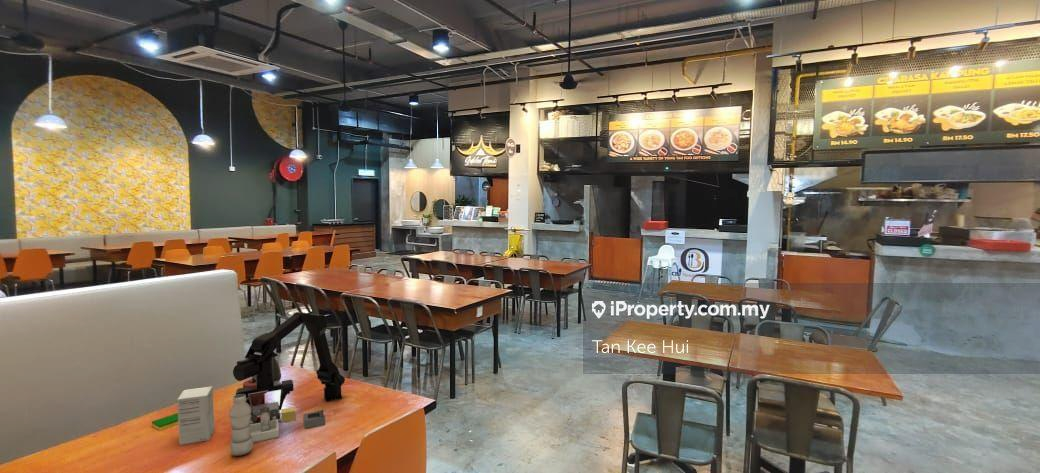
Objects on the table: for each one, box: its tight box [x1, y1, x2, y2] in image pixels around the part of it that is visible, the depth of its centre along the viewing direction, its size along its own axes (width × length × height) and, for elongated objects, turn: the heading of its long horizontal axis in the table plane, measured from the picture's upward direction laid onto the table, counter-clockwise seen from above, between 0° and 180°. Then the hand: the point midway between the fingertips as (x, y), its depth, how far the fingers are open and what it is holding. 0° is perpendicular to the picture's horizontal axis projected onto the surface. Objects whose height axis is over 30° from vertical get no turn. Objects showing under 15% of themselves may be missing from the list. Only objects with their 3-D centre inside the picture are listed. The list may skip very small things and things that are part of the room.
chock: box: [280, 406, 297, 424], centre depth 185 cm, size 5×4×4 cm
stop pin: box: [259, 407, 270, 432], centre depth 173 cm, size 3×3×9 cm
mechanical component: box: [242, 378, 268, 406], centre depth 195 cm, size 12×10×10 cm
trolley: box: [250, 401, 281, 424], centre depth 184 cm, size 12×10×10 cm
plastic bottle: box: [228, 394, 254, 457], centre depth 159 cm, size 6×7×20 cm
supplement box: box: [176, 385, 215, 446], centre depth 171 cm, size 10×9×17 cm
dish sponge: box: [151, 412, 179, 432], centre depth 184 cm, size 7×14×2 cm, turn 147°
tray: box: [250, 419, 280, 444], centre depth 172 cm, size 12×10×3 cm
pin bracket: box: [302, 409, 326, 430], centre depth 182 cm, size 7×7×3 cm
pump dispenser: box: [273, 357, 282, 385], centre depth 219 cm, size 10×10×15 cm
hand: (266, 412), depth 175 cm, fingers open, 9 cm apart
